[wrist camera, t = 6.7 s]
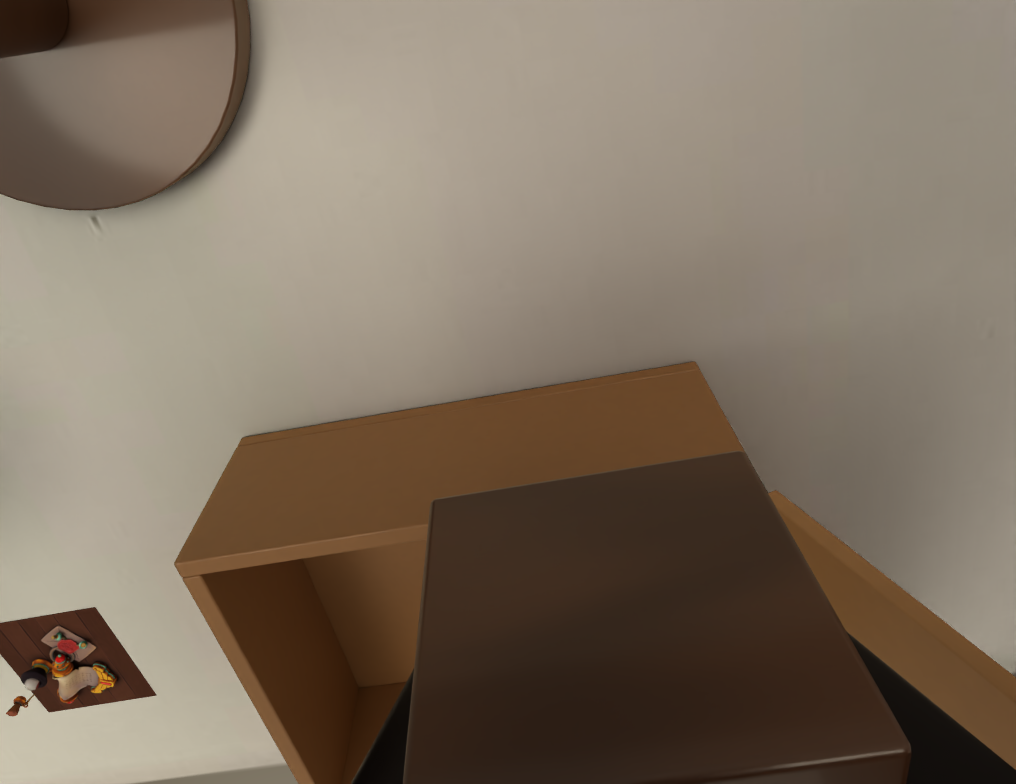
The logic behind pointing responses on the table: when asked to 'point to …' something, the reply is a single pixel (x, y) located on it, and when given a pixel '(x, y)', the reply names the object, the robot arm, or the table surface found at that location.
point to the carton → (393, 536)
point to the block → (636, 640)
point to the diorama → (70, 661)
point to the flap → (909, 636)
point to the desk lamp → (115, 95)
